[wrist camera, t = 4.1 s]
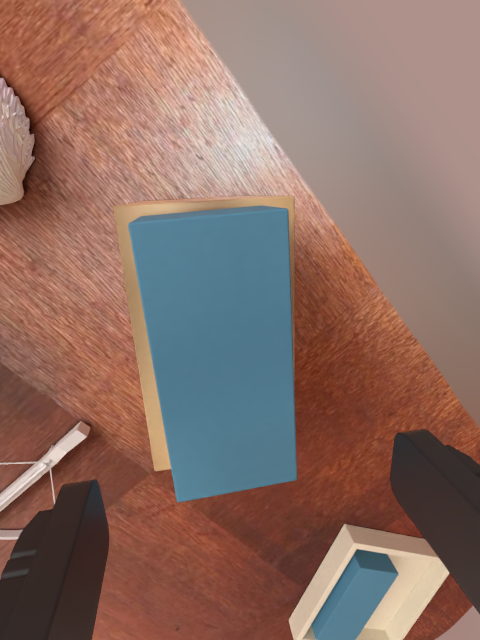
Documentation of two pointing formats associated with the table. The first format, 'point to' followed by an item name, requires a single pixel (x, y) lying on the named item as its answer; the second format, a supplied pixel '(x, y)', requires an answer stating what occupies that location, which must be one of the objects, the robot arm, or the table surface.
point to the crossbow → (40, 471)
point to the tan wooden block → (143, 354)
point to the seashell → (13, 145)
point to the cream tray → (400, 600)
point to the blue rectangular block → (221, 344)
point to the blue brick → (355, 596)
